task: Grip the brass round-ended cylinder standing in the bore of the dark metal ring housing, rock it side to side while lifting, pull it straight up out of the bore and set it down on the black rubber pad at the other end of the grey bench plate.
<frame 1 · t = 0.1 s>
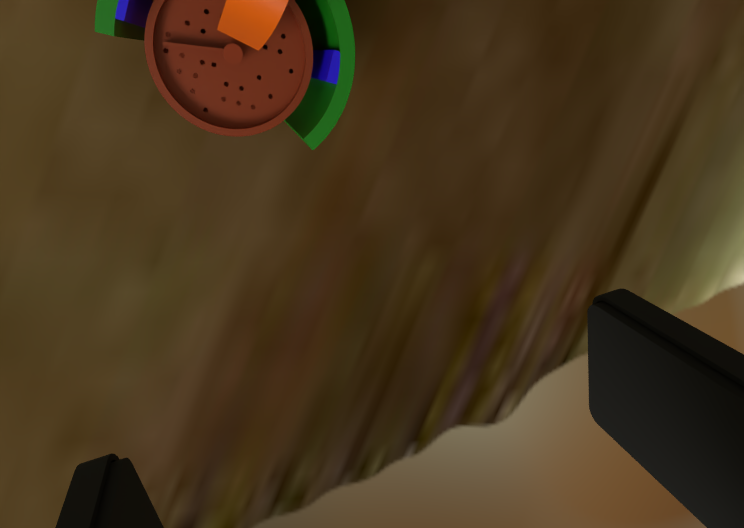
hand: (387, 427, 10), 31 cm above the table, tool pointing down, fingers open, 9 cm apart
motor: (228, 43, 35), on the table
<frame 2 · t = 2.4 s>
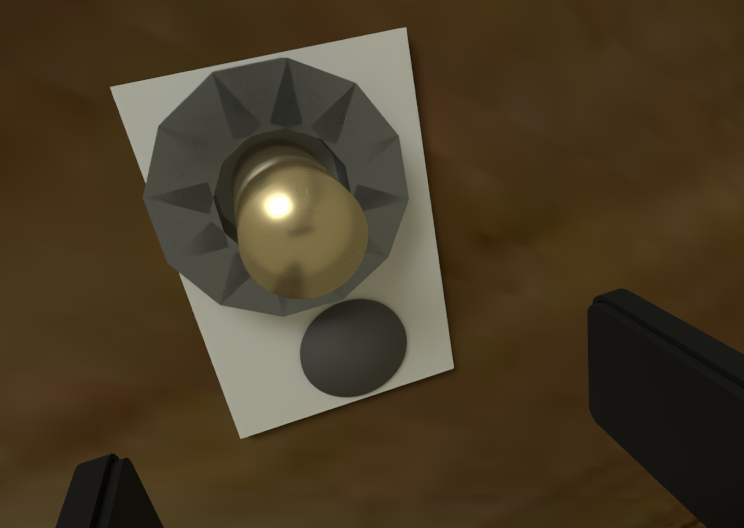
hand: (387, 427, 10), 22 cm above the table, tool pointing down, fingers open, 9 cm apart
brass round-ended cylinder: (289, 207, 24), in the housing, point 6 cm above the table, touching base plate
housing: (278, 185, 29), resting on base plate
base plate: (311, 248, 32), on the table
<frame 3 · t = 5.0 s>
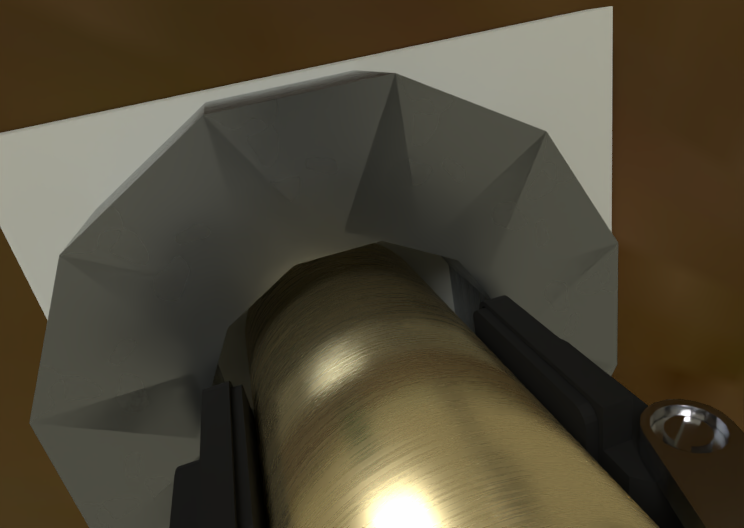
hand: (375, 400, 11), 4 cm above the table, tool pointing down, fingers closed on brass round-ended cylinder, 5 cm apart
brass round-ended cylinder: (394, 441, 10), in the housing, point 6 cm above the table, touching base plate, gripper
housing: (340, 326, 14), resting on base plate
base plate: (391, 421, 17), on the table
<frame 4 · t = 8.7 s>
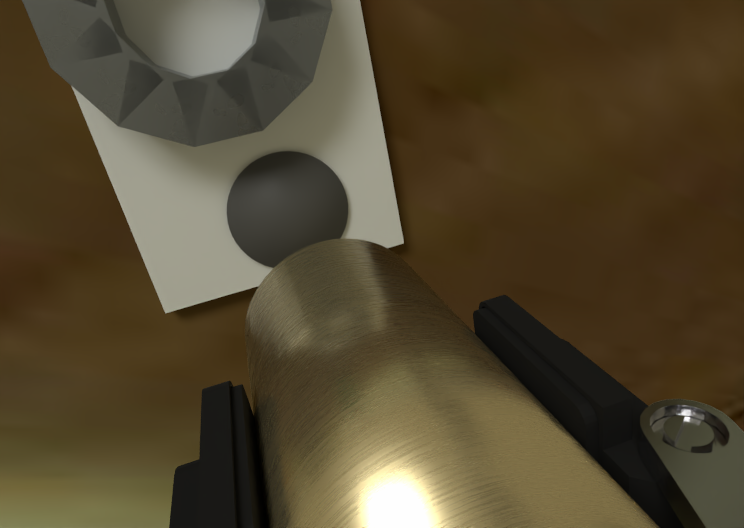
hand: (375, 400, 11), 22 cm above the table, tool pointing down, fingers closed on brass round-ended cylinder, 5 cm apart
brass round-ended cylinder: (394, 441, 10), point 23 cm above the table, touching gripper
housing: (188, 1, 25), resting on base plate
base plate: (235, 91, 28), on the table
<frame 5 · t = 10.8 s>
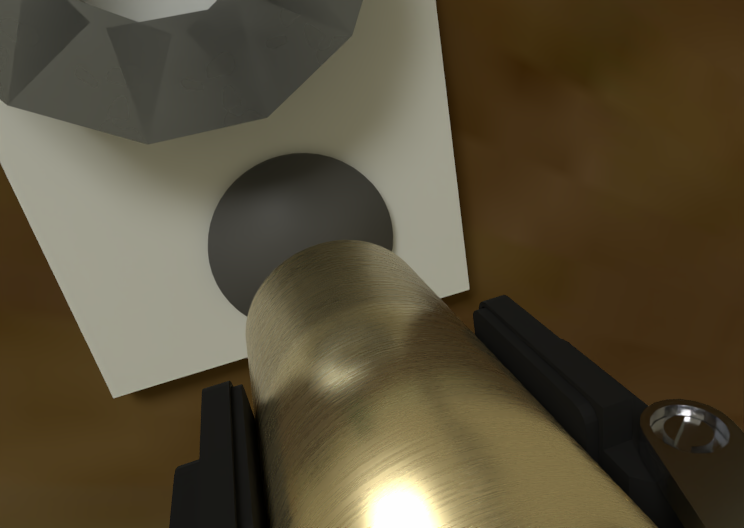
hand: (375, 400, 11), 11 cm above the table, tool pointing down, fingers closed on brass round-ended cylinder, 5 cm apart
brass round-ended cylinder: (395, 443, 10), point 12 cm above the table, touching gripper
base plate: (223, 57, 18), on the table
when the fingers open (5 cm above the table, at t = 12.7 s): brass round-ended cylinder stays where it is, resting on base plate.
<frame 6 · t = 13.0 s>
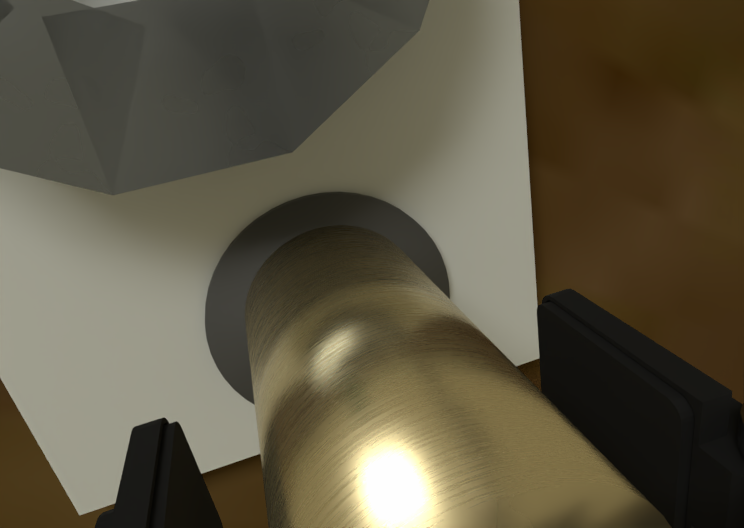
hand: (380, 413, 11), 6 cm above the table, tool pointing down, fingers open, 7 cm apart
brass round-ended cylinder: (385, 412, 10), on the base plate, point 6 cm above the table
base plate: (226, 61, 13), on the table
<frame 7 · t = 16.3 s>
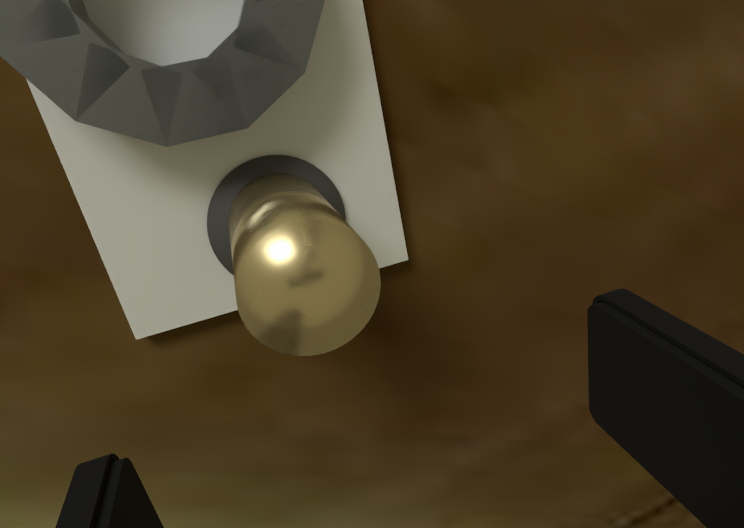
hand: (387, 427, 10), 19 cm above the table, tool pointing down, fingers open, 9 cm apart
brass round-ended cylinder: (292, 249, 22), on the base plate, point 6 cm above the table
base plate: (217, 86, 25), on the table
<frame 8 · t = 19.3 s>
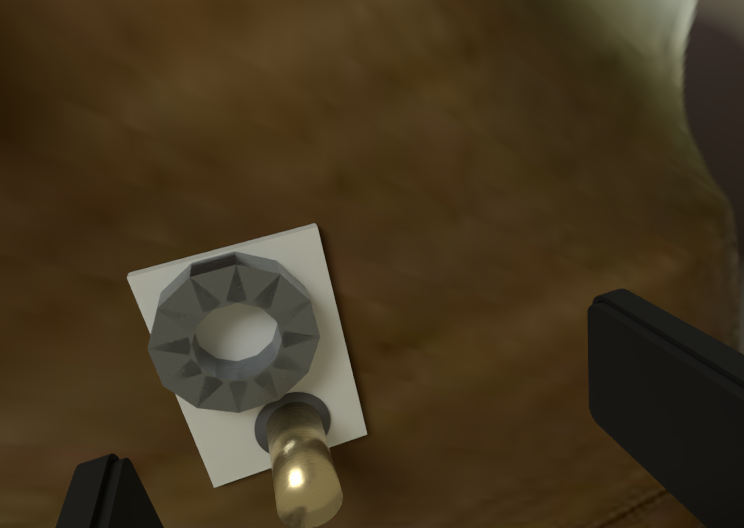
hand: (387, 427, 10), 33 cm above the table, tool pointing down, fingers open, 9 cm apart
brass round-ended cylinder: (301, 460, 44), on the base plate, point 6 cm above the table
housing: (236, 325, 44), resting on base plate
base plate: (261, 360, 46), on the table
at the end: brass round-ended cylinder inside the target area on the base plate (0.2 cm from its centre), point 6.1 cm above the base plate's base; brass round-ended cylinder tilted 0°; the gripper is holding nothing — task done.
